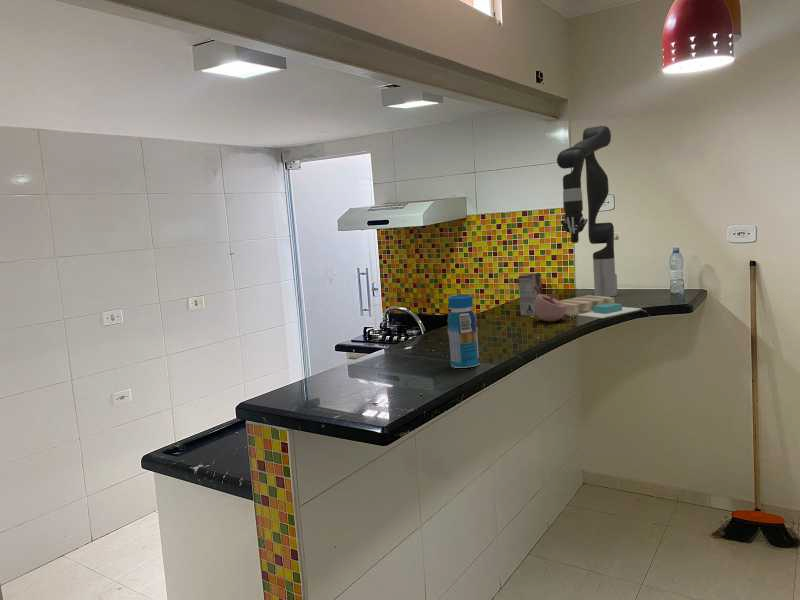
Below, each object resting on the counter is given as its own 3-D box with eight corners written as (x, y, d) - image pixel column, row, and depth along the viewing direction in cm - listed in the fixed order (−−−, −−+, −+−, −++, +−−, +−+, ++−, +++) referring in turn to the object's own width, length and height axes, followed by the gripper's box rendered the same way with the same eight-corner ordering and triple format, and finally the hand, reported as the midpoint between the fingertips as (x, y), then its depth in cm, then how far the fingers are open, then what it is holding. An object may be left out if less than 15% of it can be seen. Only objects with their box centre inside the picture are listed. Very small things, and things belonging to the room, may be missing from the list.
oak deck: (588, 304, 260) (587, 295, 259) (614, 307, 248) (614, 297, 247) (549, 312, 249) (549, 302, 248) (575, 315, 237) (575, 305, 236)
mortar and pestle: (566, 323, 221) (564, 292, 220) (532, 324, 225) (531, 294, 224) (568, 318, 233) (566, 288, 231) (536, 319, 237) (534, 289, 235)
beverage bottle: (445, 369, 171) (439, 298, 169) (458, 361, 178) (452, 294, 176) (472, 370, 167) (467, 298, 164) (485, 363, 174) (480, 293, 172)
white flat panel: (616, 307, 247) (616, 306, 247) (641, 309, 236) (641, 308, 236) (577, 315, 236) (577, 314, 236) (602, 318, 226) (602, 317, 226)
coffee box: (528, 311, 255) (526, 273, 253) (543, 311, 251) (541, 273, 249) (520, 315, 247) (517, 276, 245) (535, 315, 244) (532, 275, 242)
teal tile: (621, 304, 236) (622, 310, 237) (609, 302, 241) (609, 309, 242) (605, 307, 232) (606, 313, 232) (593, 306, 237) (593, 312, 237)
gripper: (591, 198, 245) (593, 241, 247) (567, 200, 256) (569, 242, 258) (578, 199, 241) (580, 243, 243) (554, 201, 252) (556, 243, 254)
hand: (574, 242), depth 251 cm, fingers closed
